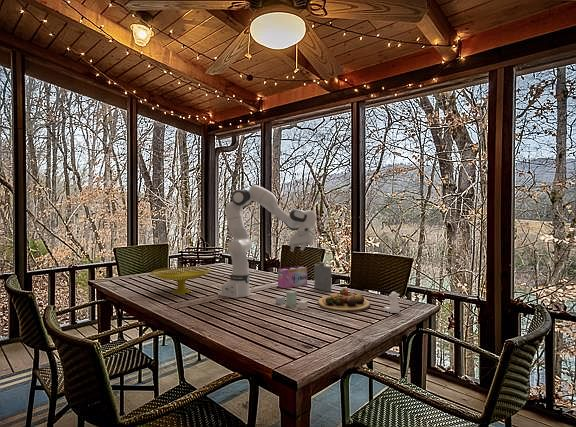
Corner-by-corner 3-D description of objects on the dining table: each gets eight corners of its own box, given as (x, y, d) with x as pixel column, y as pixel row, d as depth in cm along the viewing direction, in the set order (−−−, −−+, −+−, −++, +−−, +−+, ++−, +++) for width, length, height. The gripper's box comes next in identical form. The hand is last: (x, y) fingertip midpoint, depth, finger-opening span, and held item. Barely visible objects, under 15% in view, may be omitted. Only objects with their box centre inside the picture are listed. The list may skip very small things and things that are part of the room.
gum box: (302, 282, 282) (302, 265, 282) (308, 284, 275) (308, 267, 275) (277, 286, 269) (277, 268, 268) (283, 288, 262) (283, 270, 262)
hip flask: (332, 291, 254) (332, 263, 254) (328, 291, 252) (328, 263, 251) (316, 287, 266) (316, 260, 266) (312, 287, 264) (312, 261, 263)
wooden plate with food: (328, 296, 240) (327, 284, 240) (375, 301, 226) (375, 288, 226) (310, 309, 212) (309, 295, 211) (362, 316, 198) (362, 301, 197)
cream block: (298, 308, 211) (298, 301, 210) (301, 306, 214) (302, 300, 214) (303, 309, 208) (303, 302, 208) (307, 307, 211) (307, 301, 211)
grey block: (275, 303, 221) (275, 297, 221) (279, 302, 224) (279, 295, 224) (280, 304, 218) (281, 298, 218) (284, 303, 222) (284, 296, 221)
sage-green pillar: (286, 305, 216) (286, 291, 215) (290, 304, 219) (290, 290, 219) (292, 306, 213) (292, 292, 213) (296, 305, 216) (296, 291, 216)
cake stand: (189, 302, 222) (189, 278, 222) (137, 296, 235) (137, 274, 235) (221, 288, 260) (221, 268, 260) (174, 284, 273) (174, 264, 273)
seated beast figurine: (398, 309, 208) (398, 289, 208) (405, 314, 200) (405, 293, 200) (382, 310, 207) (383, 290, 207) (389, 314, 198) (389, 293, 198)
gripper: (290, 231, 238) (283, 249, 232) (311, 228, 223) (303, 246, 216) (297, 236, 241) (289, 254, 235) (317, 233, 226) (310, 252, 219)
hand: (296, 250), depth 226 cm, fingers open, 8 cm apart
